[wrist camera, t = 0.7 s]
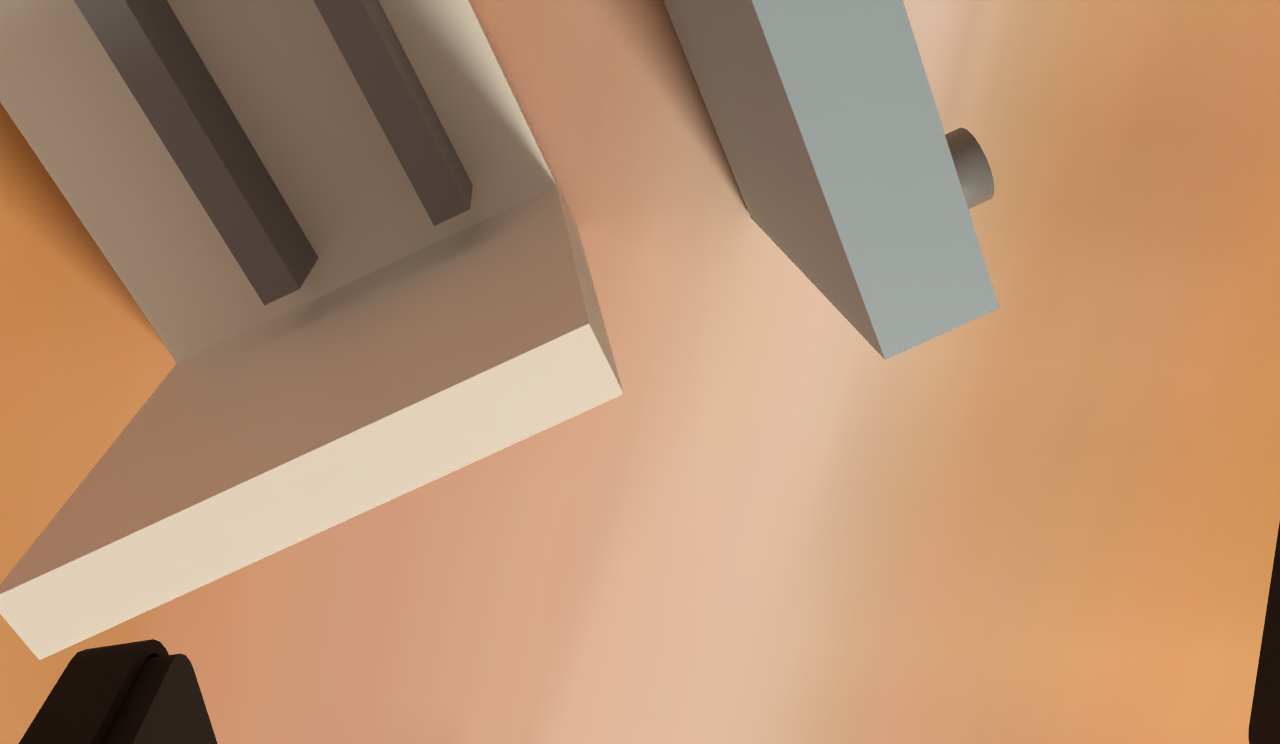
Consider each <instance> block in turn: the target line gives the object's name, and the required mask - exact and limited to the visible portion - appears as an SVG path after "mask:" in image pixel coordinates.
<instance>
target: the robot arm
mask: <svg viewBox="0 0 1280 744" xmlns="http://www.w3.org/2000/svg"><path fill="white" fill-rule="evenodd" d="M1249 743H1250V744H1280V523H1279V530H1278V537H1277V543H1276V550H1275V557H1274V564H1273V570H1272V577H1271V584H1270V590H1269V597H1268V604H1267V610H1266V617H1265V624H1264V630H1263V637H1262V644H1261V650H1260V657H1259V664H1258V671H1257V677H1256V684H1255V691H1254V697H1253V704H1252V711H1251V717H1250V724H1249ZM19 744H217V741H216V738H215V735H214V732H213V728H212V725H211V722H210V719H209V716H208V713H207V710H206V707H205V703H204V700H203V697H202V694H201V691H200V688H199V685H198V682H197V678H196V675H195V672H194V669H193V667H192V665H191V662H190V660H189V659H188V658H187V657H186V655H183V654H175V655H169V654H168V652H167V650H166V648H165V647H164V646H163V645H162V644H161V642H159V641H156V640H154V639H153V640H146V641H139V642H133V643H126V644H119V645H113V646H106V647H99V648H92V649H86V650H83V651H80V652H78V653H77V654H76V655H75V656H74V657H73V658H72V660H71V661H70V662H69V664H68V666H67V667H66V669H65V670H64V672H63V674H62V675H61V677H60V678H59V680H58V682H57V683H56V685H55V686H54V688H53V690H52V691H51V693H50V694H49V696H48V698H47V699H46V701H45V702H44V704H43V706H42V707H41V709H40V710H39V712H38V714H37V715H36V717H35V719H34V720H33V722H32V723H31V725H30V727H29V728H28V730H27V731H26V733H25V735H24V736H23V738H22V739H21V741H20V743H19Z"/></svg>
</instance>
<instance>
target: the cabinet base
mask: <svg viewBox="0 0 1280 744" xmlns="http://www.w3.org/2000/svg"><path fill="white" fill-rule="evenodd" d="M0 103H1V104H2V105H3V107H4V108H5V110H6V111H7V113H8V114H9V116H10V117H11V119H12V120H13V122H14V123H15V125H16V126H17V128H18V129H19V131H20V132H21V133H22V135H23V136H24V138H25V139H26V141H27V142H28V144H29V145H30V147H31V148H32V150H33V151H34V153H35V154H36V156H37V157H38V159H39V160H40V162H41V163H42V164H43V166H44V167H45V169H46V170H47V172H48V173H49V175H50V176H51V178H52V179H53V181H54V182H55V184H56V185H57V187H58V188H59V190H60V191H61V193H62V194H63V195H64V197H65V198H66V200H67V201H68V203H69V204H70V206H71V207H72V209H73V210H74V212H75V213H76V215H77V216H78V218H79V219H80V221H81V222H82V224H83V225H84V226H85V228H86V229H87V231H88V232H89V234H90V235H91V237H92V238H93V240H94V241H95V243H96V244H97V246H98V247H99V249H100V250H101V252H102V253H103V254H104V256H105V257H106V259H107V260H108V262H109V263H110V265H111V266H112V268H113V269H114V271H115V272H116V274H117V275H118V277H119V278H120V280H121V281H122V283H123V284H124V285H125V287H126V288H127V290H128V291H129V293H130V294H131V296H132V297H133V299H134V300H135V302H136V303H137V305H138V306H139V308H140V309H141V311H142V312H143V314H144V315H145V316H146V318H147V319H148V321H149V322H150V324H151V325H152V327H153V328H154V330H155V331H156V333H157V334H158V336H159V337H160V339H161V340H162V342H163V343H164V345H165V346H166V347H167V349H168V350H169V352H170V353H171V355H172V356H173V358H174V359H175V361H176V362H177V364H176V365H175V367H174V368H173V369H172V370H171V372H170V373H169V374H168V375H167V377H166V378H165V379H164V380H163V382H162V383H161V384H160V385H159V387H158V388H157V389H156V390H155V392H154V393H153V394H152V395H151V397H150V398H149V399H148V400H147V402H146V403H145V404H144V405H143V407H142V408H141V409H140V410H139V412H138V413H137V414H136V415H135V417H134V418H133V419H132V420H131V422H130V423H129V424H128V425H127V427H126V428H125V429H124V430H123V432H122V433H121V434H120V435H119V437H118V438H117V439H116V440H115V442H114V443H113V444H112V445H111V447H110V448H109V449H108V450H107V452H106V453H105V454H104V455H103V457H102V458H101V459H100V461H99V462H98V463H97V464H96V466H95V467H94V468H93V469H92V471H91V472H90V473H89V474H88V476H87V477H86V478H85V479H84V481H83V482H82V483H81V484H80V486H79V487H78V488H77V489H76V491H75V492H74V493H73V494H72V496H71V497H70V498H69V499H68V501H67V502H66V503H65V504H64V506H63V507H62V508H61V509H60V511H59V512H58V513H57V514H56V516H55V517H54V518H53V519H52V521H51V522H50V523H49V524H48V526H47V527H46V528H45V529H44V531H43V532H42V533H41V534H40V536H39V537H38V538H37V539H36V541H35V542H34V543H33V544H32V546H31V547H30V548H29V549H28V551H27V552H26V553H25V554H24V556H23V557H22V558H21V559H20V561H19V562H18V563H17V564H16V566H15V567H14V568H13V570H12V571H11V572H10V573H9V575H8V576H7V577H6V578H5V580H4V581H3V582H2V583H1V585H0V614H1V615H2V616H3V618H4V619H5V620H6V621H7V622H8V624H9V625H10V626H11V627H12V628H13V629H14V631H15V632H16V633H17V634H18V635H19V637H20V638H21V639H22V640H23V641H24V642H25V644H26V645H27V646H28V647H29V648H30V650H31V651H32V652H33V653H34V654H35V655H36V657H37V658H38V659H39V660H41V659H43V658H45V657H47V656H50V655H52V654H54V653H56V652H58V651H61V650H63V649H65V648H67V647H69V646H72V645H74V644H76V643H78V642H80V641H83V640H85V639H87V638H89V637H91V636H94V635H96V634H98V633H100V632H102V631H105V630H107V629H109V628H111V627H113V626H115V625H118V624H120V623H122V622H124V621H126V620H129V619H131V618H133V617H135V616H137V615H140V614H142V613H144V612H146V611H148V610H151V609H153V608H155V607H157V606H159V605H162V604H164V603H166V602H168V601H170V600H173V599H175V598H177V597H179V596H181V595H183V594H186V593H188V592H190V591H192V590H194V589H197V588H199V587H201V586H203V585H205V584H208V583H210V582H212V581H214V580H216V579H219V578H221V577H223V576H225V575H227V574H230V573H232V572H234V571H236V570H238V569H241V568H243V567H245V566H247V565H249V564H251V563H254V562H256V561H258V560H260V559H262V558H265V557H267V556H269V555H271V554H273V553H276V552H278V551H280V550H282V549H284V548H287V547H289V546H291V545H293V544H295V543H298V542H300V541H302V540H304V539H306V538H309V537H311V536H313V535H315V534H317V533H319V532H322V531H324V530H326V529H328V528H330V527H333V526H335V525H337V524H339V523H341V522H344V521H346V520H348V519H350V518H352V517H355V516H357V515H359V514H361V513H363V512H366V511H368V510H370V509H372V508H374V507H377V506H379V505H381V504H383V503H385V502H387V501H390V500H392V499H394V498H396V497H398V496H401V495H403V494H405V493H407V492H409V491H412V490H414V489H416V488H418V487H420V486H423V485H425V484H427V483H429V482H431V481H434V480H436V479H438V478H440V477H442V476H445V475H447V474H449V473H451V472H453V471H455V470H458V469H460V468H462V467H464V466H466V465H469V464H471V463H473V462H475V461H477V460H480V459H482V458H484V457H486V456H488V455H491V454H493V453H495V452H497V451H499V450H502V449H504V448H506V447H508V446H510V445H513V444H515V443H517V442H519V441H521V440H523V439H526V438H528V437H530V436H532V435H534V434H537V433H539V432H541V431H543V430H545V429H548V428H550V427H552V426H554V425H556V424H559V423H561V422H563V421H565V420H567V419H570V418H572V417H574V416H576V415H578V414H581V413H583V412H585V411H587V410H589V409H591V408H594V407H596V406H598V405H600V404H602V403H605V402H607V401H609V400H611V399H613V398H616V397H618V396H620V395H622V394H623V390H622V386H621V383H620V379H619V375H618V372H617V368H616V365H615V361H614V357H613V354H612V350H611V346H610V343H609V339H608V336H607V332H606V328H605V325H604V321H603V317H602V314H601V310H600V307H599V303H598V299H597V296H596V292H595V289H594V285H593V281H592V278H591V274H590V270H589V267H588V263H587V260H586V256H585V252H584V249H583V245H582V241H581V238H580V234H579V231H578V227H577V225H576V223H575V220H574V218H573V216H572V214H571V212H570V210H569V208H568V206H567V204H566V202H565V199H564V197H563V195H562V193H561V191H560V189H559V187H558V185H557V183H556V181H555V178H554V176H553V174H552V172H551V170H550V168H549V166H548V164H547V162H546V160H545V157H544V155H543V153H542V151H541V149H540V147H539V145H538V143H537V141H536V139H535V136H534V134H533V132H532V130H531V128H530V126H529V124H528V122H527V120H526V118H525V116H524V113H523V111H522V109H521V107H520V105H519V103H518V101H517V99H516V97H515V95H514V92H513V90H512V88H511V86H510V84H509V82H508V80H507V78H506V76H505V74H504V71H503V69H502V67H501V65H500V63H499V61H498V59H497V57H496V55H495V53H494V50H493V48H492V46H491V44H490V42H489V40H488V38H487V36H486V34H485V32H484V29H483V27H482V25H481V23H480V21H479V19H478V17H477V15H476V13H475V11H474V8H473V6H472V4H471V2H470V0H0Z"/></svg>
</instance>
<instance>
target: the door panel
mask: <svg viewBox="0 0 1280 744" xmlns="http://www.w3.org/2000/svg"><path fill="white" fill-rule="evenodd" d="M663 2H664V4H665V7H666V9H667V11H668V14H669V16H670V19H671V21H672V24H673V26H674V29H675V31H676V34H677V36H678V39H679V41H680V44H681V46H682V49H683V51H684V54H685V56H686V58H687V61H688V63H689V66H690V68H691V71H692V73H693V76H694V78H695V81H696V83H697V86H698V88H699V91H700V93H701V96H702V98H703V101H704V103H705V105H706V108H707V110H708V113H709V115H710V118H711V120H712V123H713V125H714V128H715V130H716V133H717V135H718V138H719V140H720V143H721V145H722V148H723V150H724V152H725V155H726V157H727V160H728V162H729V165H730V167H731V170H732V172H733V175H734V177H735V180H736V182H737V185H738V187H739V190H740V192H741V195H742V197H743V199H744V202H745V204H746V207H747V209H748V212H749V214H750V217H751V218H752V219H753V220H754V222H755V223H756V224H757V225H758V226H759V227H760V228H761V229H762V230H763V231H764V232H765V233H766V234H767V235H768V236H769V237H770V238H771V239H772V241H773V242H774V243H775V244H776V245H777V246H778V247H779V248H780V249H781V250H782V251H783V252H784V253H785V254H786V255H787V256H788V257H789V259H790V260H791V261H792V262H793V263H794V264H795V265H796V266H797V267H798V268H799V269H800V270H801V271H802V272H803V273H804V274H805V275H806V277H807V278H808V279H809V280H810V281H811V282H812V283H813V284H814V285H815V286H816V287H817V288H818V289H819V290H820V291H821V292H822V293H823V295H824V296H825V297H826V298H827V299H828V300H829V301H830V302H831V303H832V304H833V305H834V306H835V307H836V308H837V309H838V310H839V311H840V313H841V314H842V315H843V316H844V317H845V318H846V319H847V320H848V321H849V322H850V323H851V324H852V325H853V326H854V327H855V328H856V329H857V331H858V332H859V333H860V334H861V335H862V336H863V337H864V338H865V339H866V340H867V341H868V342H869V343H870V344H871V345H872V346H873V347H874V348H875V350H876V351H877V352H878V353H879V354H880V355H881V356H882V357H883V358H884V359H885V360H886V359H888V358H890V357H892V356H894V355H897V354H899V353H901V352H903V351H905V350H908V349H910V348H912V347H914V346H917V345H919V344H921V343H923V342H925V341H928V340H930V339H932V338H934V337H936V336H939V335H941V334H943V333H945V332H947V331H950V330H952V329H954V328H956V327H959V326H961V325H963V324H965V323H967V322H970V321H972V320H974V319H976V318H978V317H981V316H983V315H985V314H987V313H990V312H992V311H994V310H996V309H998V308H999V305H998V302H997V299H996V296H995V292H994V289H993V286H992V283H991V280H990V277H989V273H988V270H987V267H986V264H985V261H984V257H983V254H982V251H981V248H980V245H979V242H978V238H977V235H976V232H975V229H974V226H973V223H972V219H971V216H970V213H969V210H968V209H970V208H972V207H974V206H976V205H978V204H981V203H983V202H985V201H987V200H989V199H991V198H992V197H993V194H994V182H993V177H992V173H991V170H990V167H989V164H988V161H987V159H986V157H985V155H984V153H983V151H982V149H981V147H980V145H979V144H978V142H977V141H976V139H975V138H974V137H973V136H972V134H971V133H970V132H969V131H967V130H966V129H964V128H959V129H957V130H954V131H952V132H950V133H948V134H946V135H945V134H944V130H943V127H942V124H941V121H940V118H939V114H938V111H937V108H936V105H935V102H934V99H933V95H932V92H931V89H930V86H929V83H928V80H927V76H926V73H925V70H924V67H923V64H922V60H921V57H920V54H919V51H918V48H917V45H916V41H915V38H914V35H913V32H912V29H911V26H910V22H909V19H908V16H907V13H906V10H905V6H904V3H903V0H663Z"/></svg>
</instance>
